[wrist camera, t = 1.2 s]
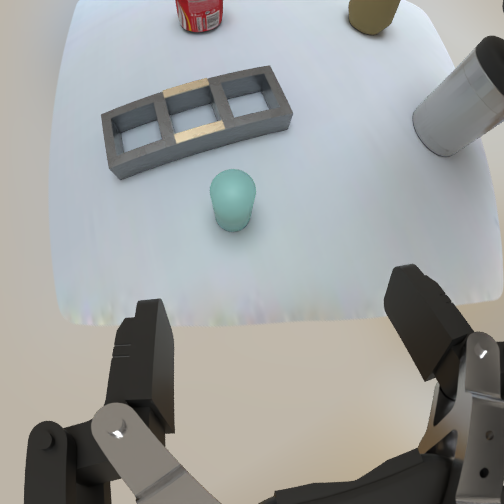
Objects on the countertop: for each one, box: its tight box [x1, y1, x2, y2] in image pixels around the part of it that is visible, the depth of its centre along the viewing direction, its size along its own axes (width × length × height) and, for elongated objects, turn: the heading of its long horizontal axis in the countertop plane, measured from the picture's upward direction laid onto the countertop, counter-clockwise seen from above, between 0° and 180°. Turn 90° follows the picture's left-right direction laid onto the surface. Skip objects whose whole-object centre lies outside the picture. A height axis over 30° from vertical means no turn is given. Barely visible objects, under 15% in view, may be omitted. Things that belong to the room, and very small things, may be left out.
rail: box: [101, 65, 293, 180], centre depth 35 cm, size 22×8×4 cm, turn 108°
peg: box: [210, 169, 256, 232], centre depth 31 cm, size 4×4×9 cm
